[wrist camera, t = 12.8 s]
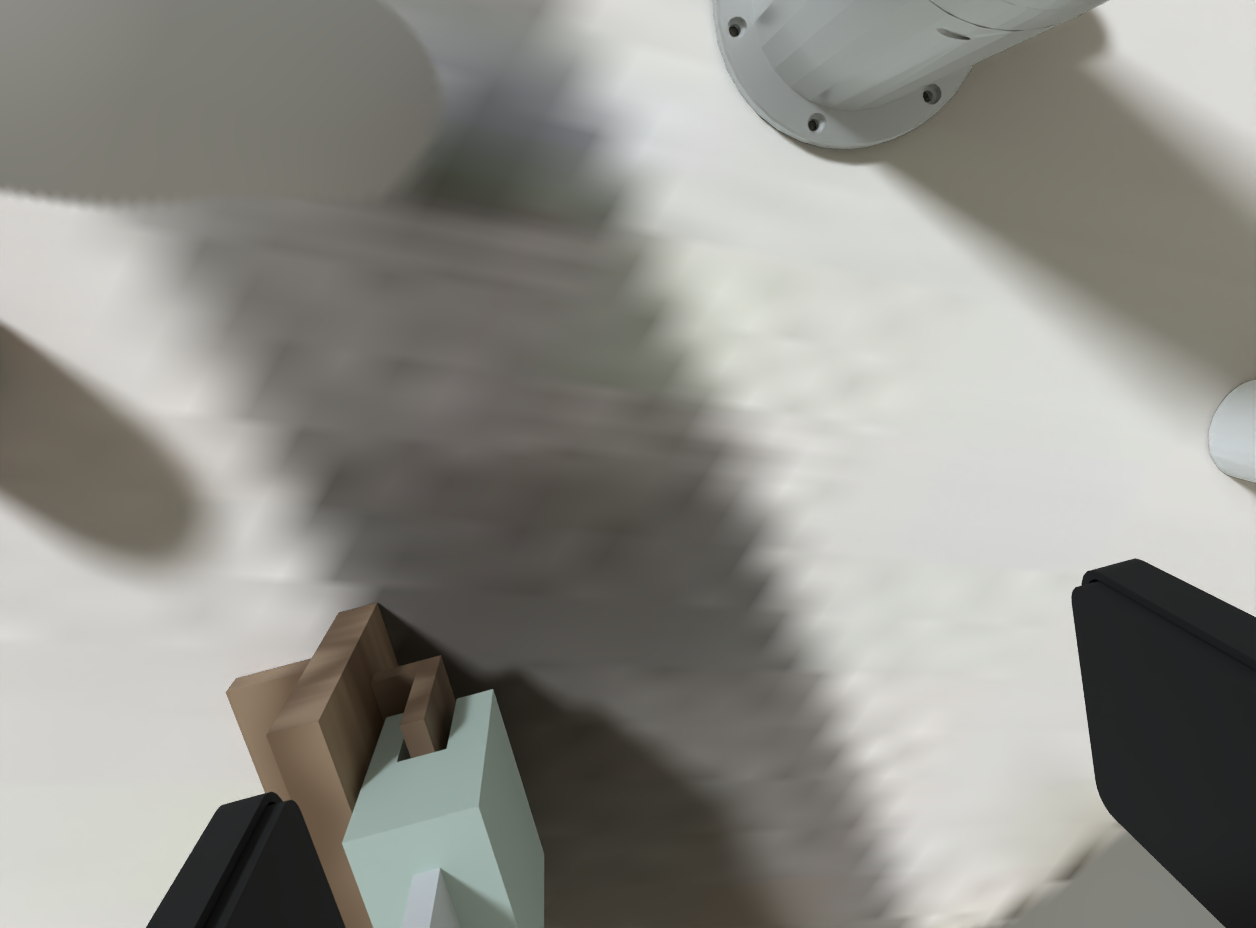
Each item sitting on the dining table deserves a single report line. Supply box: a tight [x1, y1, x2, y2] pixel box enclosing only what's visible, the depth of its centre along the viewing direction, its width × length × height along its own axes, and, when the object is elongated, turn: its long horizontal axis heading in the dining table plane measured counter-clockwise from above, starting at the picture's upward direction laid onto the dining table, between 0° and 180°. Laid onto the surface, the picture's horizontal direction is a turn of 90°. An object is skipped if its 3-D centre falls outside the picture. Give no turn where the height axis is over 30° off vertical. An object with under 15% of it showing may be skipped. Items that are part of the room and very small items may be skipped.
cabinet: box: [342, 689, 544, 928], centre depth 35 cm, size 5×9×14 cm, turn 14°
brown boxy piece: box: [226, 603, 456, 928], centre depth 41 cm, size 11×16×12 cm
